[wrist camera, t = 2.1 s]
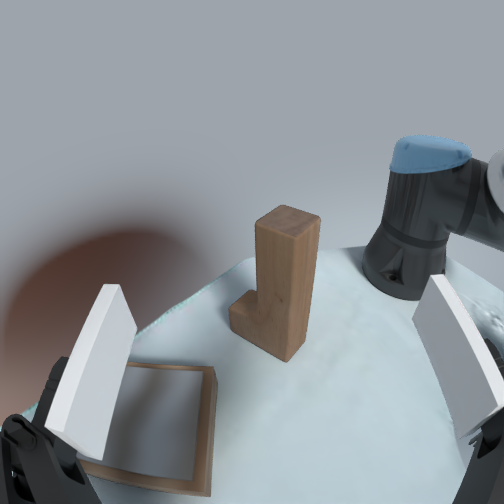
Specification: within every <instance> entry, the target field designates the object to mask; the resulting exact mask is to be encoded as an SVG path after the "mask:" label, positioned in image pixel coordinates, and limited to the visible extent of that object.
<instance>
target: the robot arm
mask: <svg viewBox="0 0 504 504" xmlns="http://www.w3.org/2000/svg"><path fill="white" fill-rule="evenodd" d="M471 156H472V154H471V150H470V148H469V147H468V146H466V145H464V144H463V143H460V142H456V141H454V140H451V139H446V138H442V137H435V136H426V135H425V136H424V135H414V136H406V137H403V138H401V139H400V140H398V142H397V143H396V145H395V148H394V153H393V158H392V163H391V164H390V168H389V169H390V177H389V183H388V189H387V195H386V200H385V205H384V210H383V216H382V221H381V224H380V226H379V228H378V229H377V230H376V232H375V234H374V235H373V237H372V239H371V240H370V242H369V243H368V245H367V246H366V248H365V251H364V256H363V260H362V268H363V271H364V273H365V275H366V277H367V278H368V279H369V281H370V282H371V283H372V284H373V285H375V286H376V287H377V288H378V289H380V290H381V291H383V292H385V293H387V294H389V295H391V296H394V297H396V298H400V299H404V300H420V302H419V304H418V306H417V309H416V311H415V313H414V315H413V318H412V320H413V322H414V325H415V327H416V329H417V331H418V333H419V336H420V338H421V340H422V342H423V345H424V347H425V349H426V352H427V354H428V356H429V359H430V361H431V364H432V366H433V369H434V371H435V374H436V376H437V379H438V381H439V384H440V387H441V389H442V392H443V395H444V397H445V400H446V403H447V406H448V409H449V412H450V415H451V418H452V421H453V424H454V427H455V430H456V433H457V436H458V439H461V438H463V437H466V436H468V435H470V434H472V433H474V432H475V431H476V430H477V429H479V428H480V427H481V430H482V431H481V432H480V433H479V434H478V435H476V436H475V437H474V438H473V439H471V441H470V442H469V445H471V444H473V443H474V442H475V441H477V442H476V443H475V444H474V447H475V448H474V451H473V455H472V457H471V460H470V463H469V465H468V468H467V471H466V473H465V476H464V478H463V481H462V483H461V486H460V488H459V490H458V492H457V495H456V497H455V499H454V501H453V503H452V504H504V362H503V360H502V359H501V356H500V354H499V352H498V350H497V348H496V347H495V346H494V344H493V343H492V342H491V341H490V340H489V339H488V338H487V339H483V338H482V336H481V334H480V333H479V331H478V329H477V327H476V326H475V324H474V322H473V320H472V319H471V317H470V315H469V313H468V312H467V310H466V308H465V307H464V305H463V304H462V302H461V300H460V299H459V297H458V296H457V294H456V292H455V291H454V289H453V288H452V286H451V285H450V283H449V282H448V280H447V279H446V277H445V265H446V244H447V241H448V238H449V235H450V232H452V233H455V234H458V235H461V236H464V237H466V238H469V239H472V240H475V241H477V242H480V243H482V244H485V245H487V246H490V247H493V248H495V249H497V250H500V251H503V252H504V149H503V150H500V151H498V152H497V153H495V154H494V155H493V156H492V158H491V160H490V161H489V164H488V163H486V162H483V161H480V160H476V159H474V158H471ZM136 331H137V327H136V325H135V322H134V320H133V317H132V315H131V313H130V310H129V308H128V305H127V303H126V300H125V298H124V295H123V292H122V290H121V287H120V285H119V284H104V285H103V287H102V289H101V291H100V293H99V295H98V297H97V299H96V301H95V303H94V305H93V307H92V309H91V311H90V313H89V315H88V317H87V320H86V322H85V324H84V326H83V328H82V331H81V333H80V335H79V337H78V340H77V342H76V344H75V346H74V349H73V351H72V353H71V356H70V358H68V357H61V358H60V359H59V360H58V361H57V362H56V364H55V365H54V366H53V368H52V371H51V373H50V375H49V380H47V383H46V385H45V389H44V390H43V393H42V395H41V398H40V401H39V404H38V406H37V409H36V412H35V415H34V418H33V420H32V422H31V423H30V422H29V421H28V420H27V419H25V418H24V417H23V416H22V415H19V414H14V415H10V416H9V417H8V418H6V420H5V421H4V423H3V425H2V429H1V431H0V504H102V503H101V501H100V499H99V498H98V496H97V494H96V492H95V490H94V489H93V487H92V485H91V483H90V481H89V479H88V477H87V475H86V473H85V471H84V469H83V467H82V465H81V463H80V461H79V460H78V458H77V457H76V455H77V451H78V452H80V453H81V454H83V455H84V456H87V457H90V458H94V459H98V460H101V461H102V458H103V454H104V449H105V444H106V440H107V436H108V431H109V427H110V423H111V419H112V415H113V411H114V407H115V403H116V399H117V396H118V392H119V388H120V385H121V381H122V377H123V374H124V371H125V367H126V364H127V360H128V357H129V354H130V350H131V347H132V344H133V341H134V338H135V334H136ZM12 471H13V477H12Z"/></svg>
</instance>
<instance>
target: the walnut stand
mask: <svg viewBox="0 0 504 504" xmlns="http://www.w3.org/2000/svg"><path fill="white" fill-rule="evenodd" d="M217 385H218V382H217V378H216V374H215V370H214V367H206V366H178V365H161V364H147V363H135V362H127V364H126V367H125V371H124V374H123V377H122V381H121V385H120V388H119V392H118V396H117V399H116V403H115V407H114V411H113V415H112V419H111V423H110V427H109V431H108V436H107V440H106V444H105V449H104V454H103V458H102V461H101V460H98V459H94V458H90V457H87V456H84V455H83V454H81V453H80V452H78V451H77V455H76V457H77V458H78V460H79V461H80V463H81V465H82V467H83V469H84V471H85V473H86V474H88V475H92V476H95V477H98V478H102V479H106V480H109V481H113V482H117V483H121V484H126V485H130V486H135V487H140V488H145V489H150V490H156V491H162V492H169V493H176V494H184V495H193V496H204V497H211V478H212V460H213V444H214V428H215V413H216V399H217Z"/></svg>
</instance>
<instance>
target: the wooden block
mask: <svg viewBox="0 0 504 504" xmlns="http://www.w3.org/2000/svg"><path fill="white" fill-rule="evenodd" d="M320 222H321V219H320V217H319V216H317V215H314V214H311V213H307V212H304V211H301V210H298V209H295V208H292V207H289V206H286V205H280V206H278V207H277V208H275V209H274V210H272V211H271V212H269V213H268V214H266V215H265V216H263V217H262V218H260V219H259V220H257V221H256V223H255V249H256V283H257V291H254V290H249V291H248V292H246V293H245V294H244V295H243V296H242V297H241V298H239V299H238V300H237V301H236V302H235V303H234V304H232V305H231V306H230V307H229V317H230V325H231V330H232V331H233V332H235V333H236V334H238V335H240V336H241V337H243V338H244V339H246V340H248V341H249V342H251V343H253V344H254V345H256V346H258V347H260V348H261V349H263V350H265V351H266V352H268V353H270V354H271V355H273V356H275V357H277V358H278V359H280V360H282V361H284V362H288V361H289V360H290V359H291V357H292V356H293V355H294V354H295V353H296V351H297V350H298V349H299V348H300V347H301V345H302V344H303V343H304V342H305V338H306V332H307V326H308V319H309V313H310V306H311V298H312V291H313V283H314V275H315V267H316V259H317V250H318V241H319V231H320Z"/></svg>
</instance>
